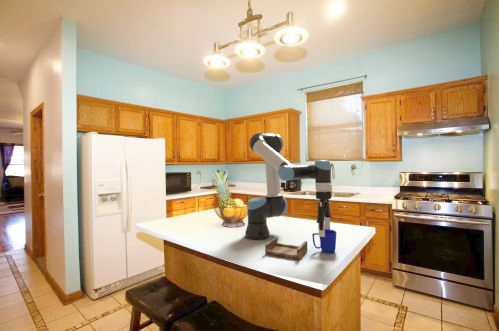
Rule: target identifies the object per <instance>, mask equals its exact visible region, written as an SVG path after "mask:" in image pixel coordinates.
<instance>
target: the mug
mask: <svg viewBox="0 0 499 331" xmlns="http://www.w3.org/2000/svg"><path fill="white" fill-rule="evenodd" d="M315 236H319V232H315V233H312V243H313V246H314V247H315V249H319V250H320V249H321V251H322V252H324V253H328V254H330V253H331V254H332V253H335V252H336V248H337V247H336V246H337V245H336V243H337V231H336V230H334V229H330V230H329V229H325V237H319V243H320V246H317V245H316V241H315Z"/></svg>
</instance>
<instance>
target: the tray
mask: <svg viewBox="0 0 499 331" xmlns="http://www.w3.org/2000/svg"><path fill="white" fill-rule="evenodd" d="M264 250H265V251H264V255H266V256H273V257H278V258H284V259H290V260H295V261H296V260H297V261H301V260H302V258H303V257H304V256H305V255H306V253H308V241H307V240H304V242H302V244H301V245H294V244H286V243H281V242H278V236H277V237H276V236H275V237H273V238H272V239H271V240H270V241H268V242H267V243H265V244H264Z"/></svg>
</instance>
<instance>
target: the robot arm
mask: <svg viewBox="0 0 499 331" xmlns="http://www.w3.org/2000/svg"><path fill="white" fill-rule="evenodd" d="M248 144H249V145H248V146H249V148H250V150H251V151H252V152H253V153H254V154H256V155H259V156H260V157H261V158H263V159H264V160H265V161H264V162H265V176H266V178H265V179H266V195H265V196H264V197H262V196H261V197H260V196H259V197H253V198H250V199H249V200H248V201H247V206H246V208H247V209H246V210H247V226H246V229H245V233H244V236H245V238H246V239H249V240H253V241H258V240H259V241H260V240H266V239H268V238H270V237H271V236H270V234H271V232H270V230H269V227H268V223H267V221H268V220H267V219H269V218H276V217H277V218H278V217H281V216H284V215H285V214H286V213H287V211H288V201H287V199H286V198H284V195H283V193H281V181H294V180H295V181H296V180H314V181H315V199H317V200H319V201H318V202H317V205H318V206H317V219H316V223H317V224H318V233H319V235H318V237H319V238H320V237H325V229H329V230H331V219H330V218H332V215H331V208H330V200H331V199H332V191H331V190H332V187H333V184H332V182H331V180H332V179H331V176H332V175H331V169H332V168H331V162H330V160H327V159H326V160H324V159H321V160H315V161H314V164H292V163H291V162H289V161H288V160H287V159H286V158H284V157H283V156H282V155H281V151H283V148H284V139H283V138H282V137H281V135H280V134H278V133H271V132H270V133H269V132H268V133H267V132H257V133H256V132H255V134H253V135H252V136H251V137H250V138H249V142H248Z"/></svg>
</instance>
